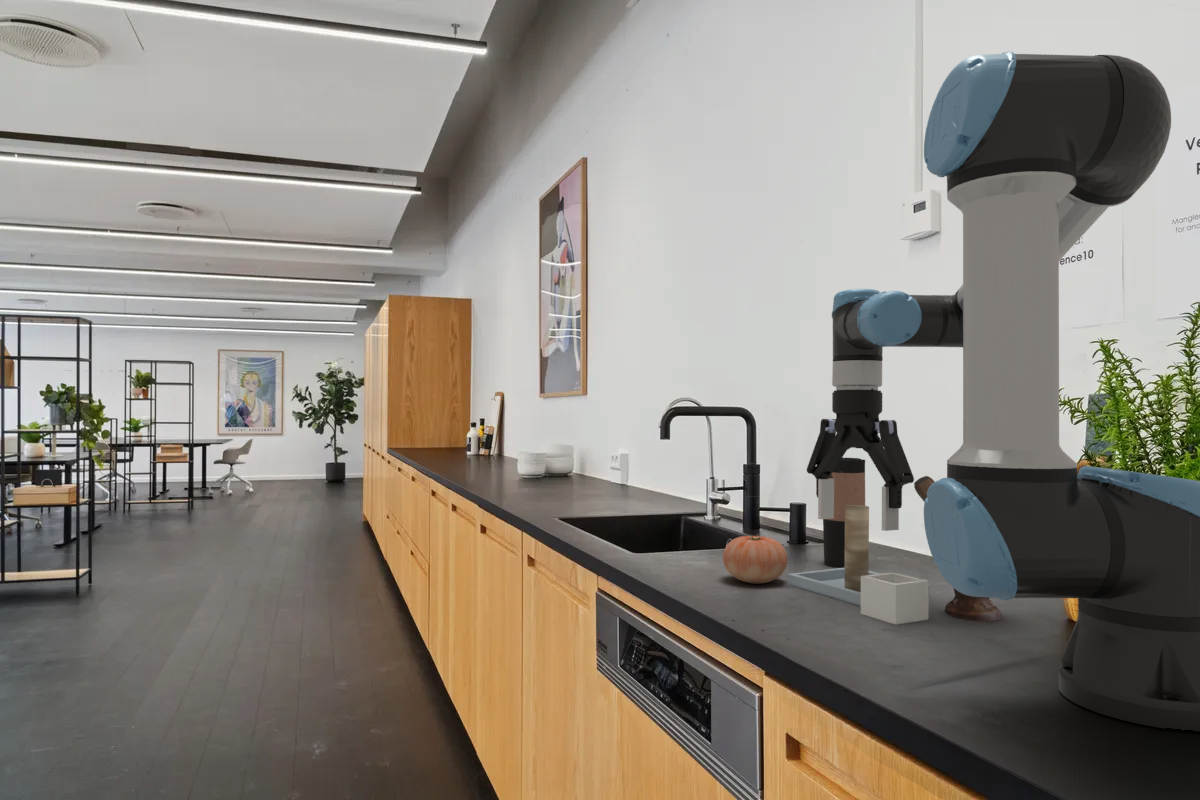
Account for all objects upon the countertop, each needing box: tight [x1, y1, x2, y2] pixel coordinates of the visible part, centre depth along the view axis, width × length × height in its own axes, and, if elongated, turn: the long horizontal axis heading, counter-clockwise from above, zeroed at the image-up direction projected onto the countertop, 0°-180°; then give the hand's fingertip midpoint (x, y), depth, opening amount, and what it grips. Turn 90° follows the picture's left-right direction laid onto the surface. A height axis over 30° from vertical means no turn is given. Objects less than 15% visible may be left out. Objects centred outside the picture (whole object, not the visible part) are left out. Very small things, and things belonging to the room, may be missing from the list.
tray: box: [786, 567, 881, 608], centre depth 125 cm, size 16×14×2 cm
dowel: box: [844, 505, 870, 592], centre depth 125 cm, size 4×4×13 cm
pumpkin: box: [722, 533, 789, 585], centre depth 135 cm, size 11×11×8 cm
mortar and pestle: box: [913, 475, 1003, 622], centre depth 111 cm, size 12×9×20 cm
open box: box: [860, 571, 930, 626], centre depth 110 cm, size 6×6×6 cm
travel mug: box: [822, 457, 866, 568], centre depth 151 cm, size 8×8×20 cm
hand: (856, 524), depth 126 cm, fingers open, 13 cm apart
